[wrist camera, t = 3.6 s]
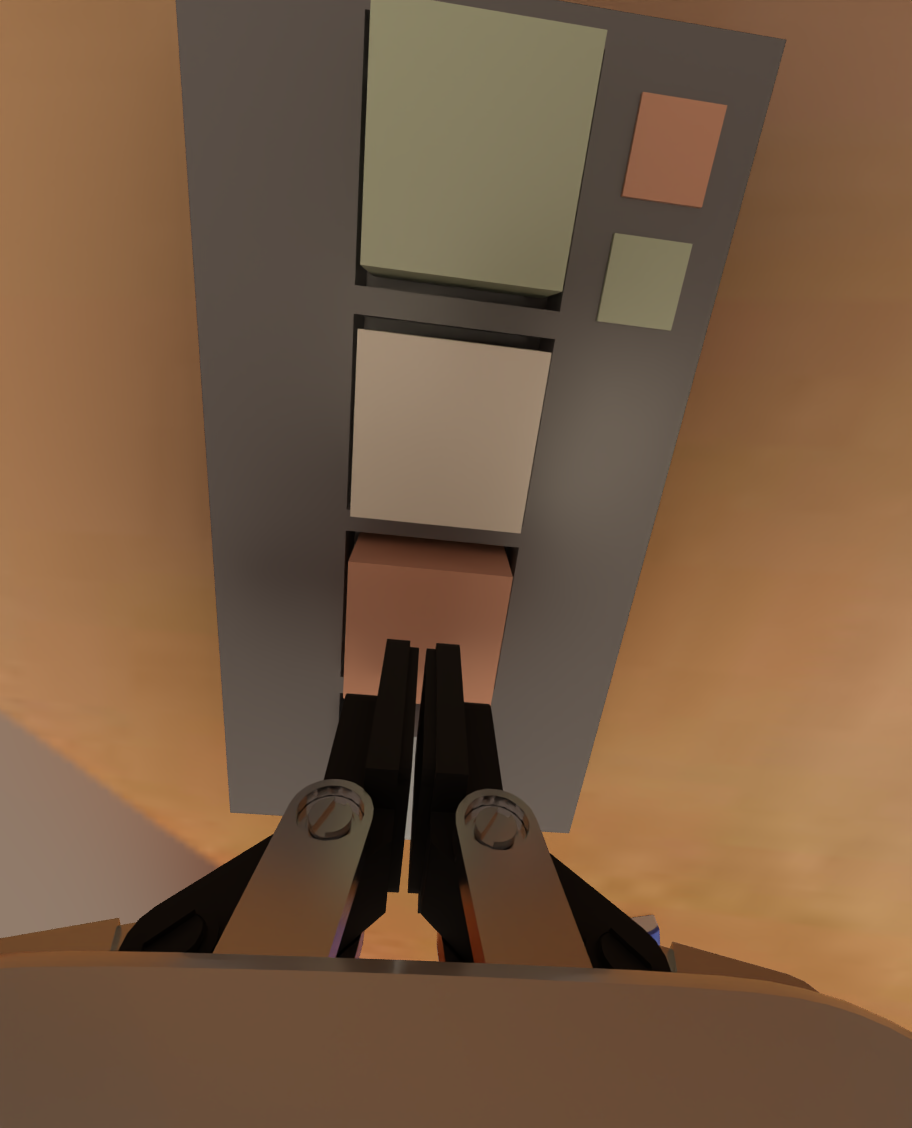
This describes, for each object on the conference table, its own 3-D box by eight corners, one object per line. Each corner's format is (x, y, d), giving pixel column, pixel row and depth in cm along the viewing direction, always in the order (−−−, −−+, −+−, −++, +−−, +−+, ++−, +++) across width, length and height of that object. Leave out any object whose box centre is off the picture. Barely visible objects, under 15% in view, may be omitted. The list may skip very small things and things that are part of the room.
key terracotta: (360, 529, 16) (348, 561, 13) (502, 543, 16) (513, 577, 14) (355, 651, 17) (343, 698, 15) (484, 662, 18) (490, 709, 15)
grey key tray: (221, 9, 12) (168, -70, 10) (725, 91, 13) (789, 37, 11) (253, 759, 21) (229, 814, 18) (555, 780, 22) (569, 835, 19)
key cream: (371, 329, 14) (357, 328, 11) (533, 349, 14) (551, 352, 12) (362, 489, 15) (350, 516, 13) (509, 504, 16) (520, 533, 13)
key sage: (384, 55, 11) (370, -10, 9) (576, 86, 12) (607, 29, 10) (373, 276, 13) (360, 264, 11) (542, 298, 13) (562, 291, 11)
